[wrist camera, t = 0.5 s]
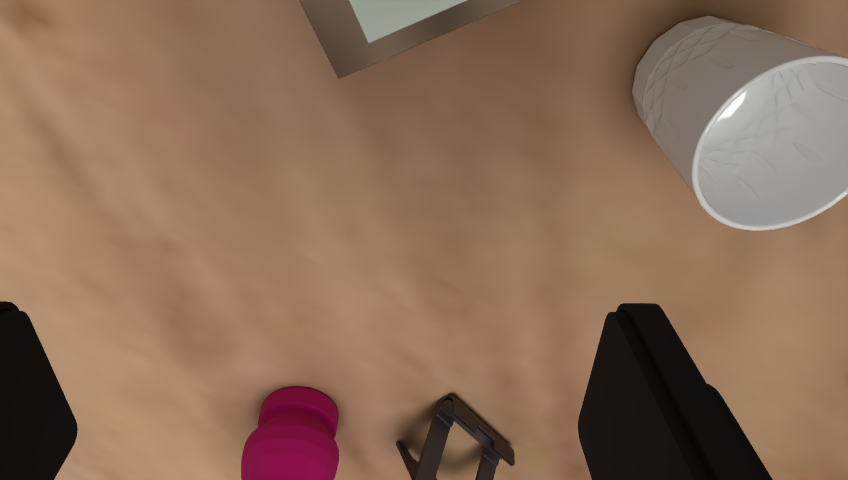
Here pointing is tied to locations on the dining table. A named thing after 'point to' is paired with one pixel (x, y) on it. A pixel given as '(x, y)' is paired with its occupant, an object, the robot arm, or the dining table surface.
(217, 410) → the dining table surface
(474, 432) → the portable electronic device stand
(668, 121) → the white cup
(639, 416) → the robot arm
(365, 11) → the housing
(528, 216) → the dining table surface
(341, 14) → the pin board
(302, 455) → the pepper mill
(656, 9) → the dining table surface
